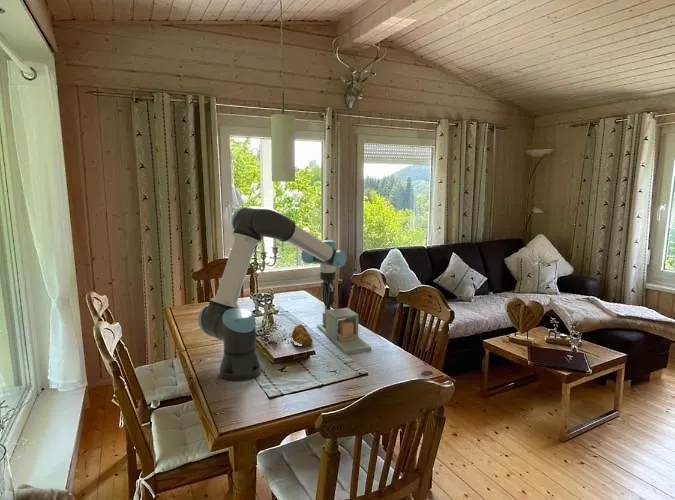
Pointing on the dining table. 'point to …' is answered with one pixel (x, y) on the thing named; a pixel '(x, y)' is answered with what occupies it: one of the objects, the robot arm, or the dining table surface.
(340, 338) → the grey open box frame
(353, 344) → the tunnel deck
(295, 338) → the rock
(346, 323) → the block
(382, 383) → the dining table surface
